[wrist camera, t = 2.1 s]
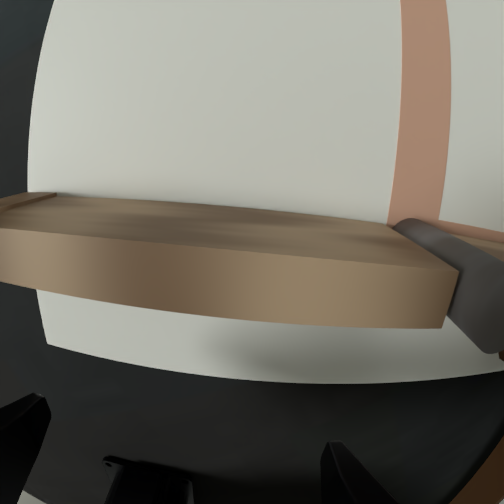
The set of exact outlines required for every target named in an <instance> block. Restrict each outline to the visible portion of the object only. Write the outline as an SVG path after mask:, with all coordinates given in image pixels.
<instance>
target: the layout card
mask: <svg viewBox="0 0 504 504" xmlns="http://www.w3.org/2000/svg"><path fill="white" fill-rule="evenodd" d="M28 192H52V193H57V196H67V197H94V198H116V199H134V200H151V201H167V202H181V203H195V204H207V205H219V206H231V207H242V208H253V209H263V210H273V211H283V212H293V213H302V214H311V215H319V216H328V217H336V218H344V219H352V220H360V221H368V222H375V223H383V224H384V225H386V226H388V227H389V228H391V229H392V228H393V227H394V226H395V225H396V224H397V223H398V222H400V221H401V220H404V219H407V218H415V219H419V220H421V221H423V222H425V223H427V224H430V225H432V226H434V227H436V228H438V229H440V230H442V231H445V232H447V233H449V234H456V235H462V236H468V237H473V238H479V239H485V240H490V241H496V242H501V243H504V0H54V3H53V6H52V10H51V13H50V17H49V20H48V24H47V28H46V32H45V36H44V40H43V45H42V49H41V54H40V59H39V64H38V69H37V75H36V81H35V88H34V95H33V102H32V111H31V121H30V133H29V149H28ZM36 290H37V296H38V301H39V307H40V312H41V317H42V322H43V327H44V331H45V335H46V340H47V344H50V345H54V346H58V347H61V348H65V349H69V350H73V351H77V352H81V353H85V354H89V355H93V356H97V357H102V358H106V359H111V360H116V361H120V362H125V363H130V364H136V365H141V366H146V367H152V368H158V369H164V370H170V371H177V372H184V373H191V374H198V375H206V376H215V377H224V378H233V379H244V380H256V381H271V382H288V383H317V384H364V383H392V382H409V381H423V380H434V379H444V378H453V377H461V376H469V375H476V374H483V373H490V372H496V371H502V370H504V361H502V360H501V359H499V354H498V353H494V354H486V353H484V352H482V351H481V350H480V349H479V348H478V347H477V346H476V345H475V344H474V343H473V342H472V341H471V340H470V339H469V338H468V337H467V336H466V335H465V334H464V333H463V332H462V331H461V330H460V329H459V328H458V327H457V326H456V325H455V324H454V323H453V322H452V321H451V320H450V319H449V318H448V317H447V316H446V317H445V320H444V323H443V326H442V329H398V328H359V327H335V326H316V325H300V324H286V323H273V322H261V321H249V320H239V319H229V318H219V317H210V316H201V315H192V314H184V313H176V312H169V311H161V310H154V309H147V308H140V307H133V306H127V305H120V304H114V303H108V302H102V301H96V300H90V299H85V298H79V297H73V296H68V295H63V294H58V293H53V292H48V291H43V290H38V289H36Z"/></svg>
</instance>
